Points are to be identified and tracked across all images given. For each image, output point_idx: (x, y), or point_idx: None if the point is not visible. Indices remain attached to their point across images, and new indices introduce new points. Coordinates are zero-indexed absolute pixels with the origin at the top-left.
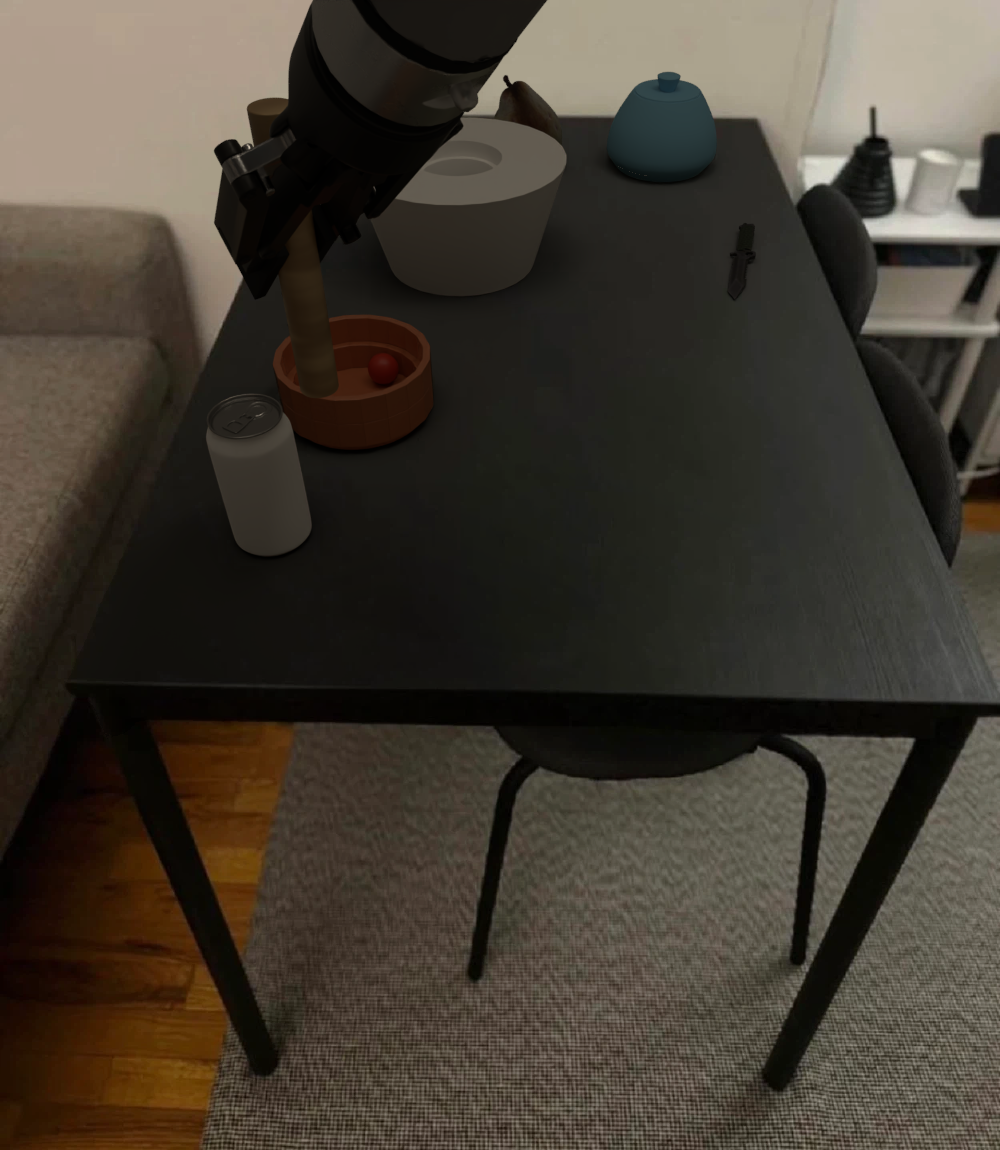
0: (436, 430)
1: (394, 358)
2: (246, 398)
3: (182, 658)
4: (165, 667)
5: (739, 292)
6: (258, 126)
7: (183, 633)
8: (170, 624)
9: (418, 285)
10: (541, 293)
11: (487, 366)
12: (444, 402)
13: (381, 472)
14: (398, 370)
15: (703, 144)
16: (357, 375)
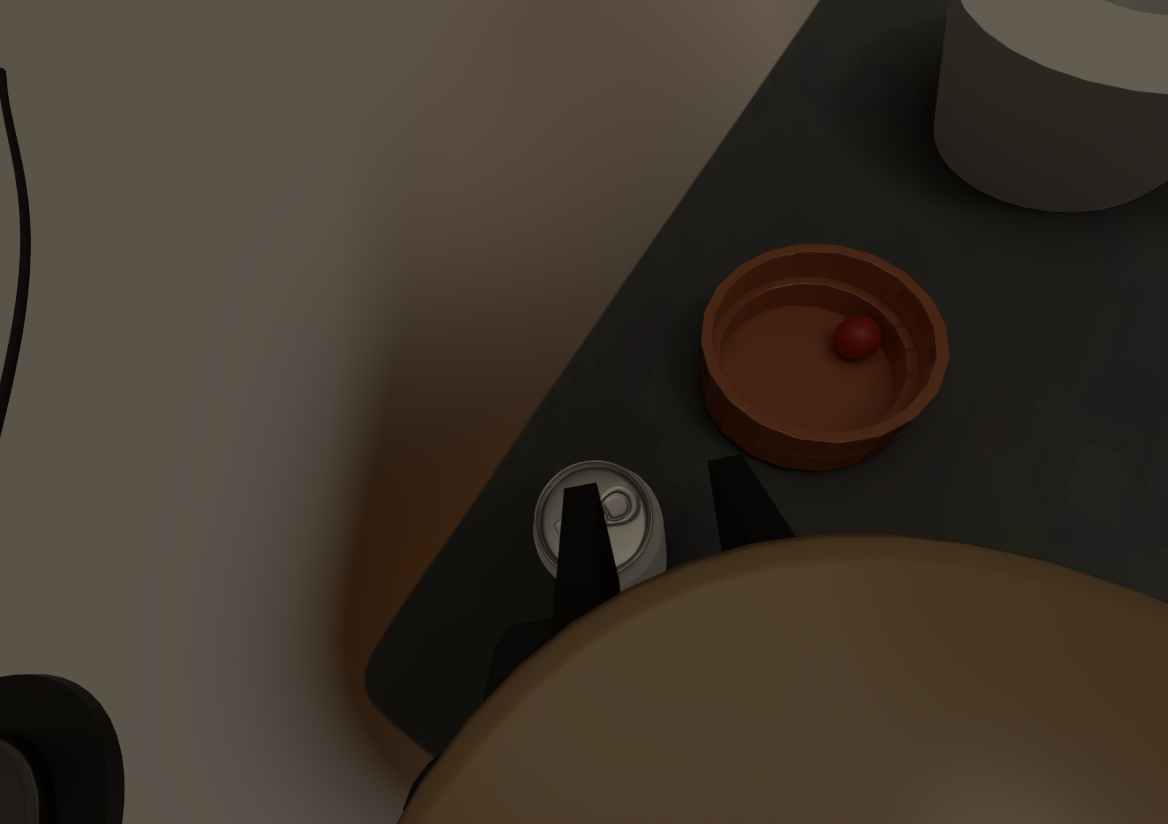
0: (892, 467)
1: (880, 331)
2: (612, 467)
3: (448, 719)
4: (427, 722)
5: None
6: None
7: (464, 676)
8: (458, 652)
9: (964, 172)
10: (1163, 236)
11: (1016, 365)
12: (923, 415)
13: (786, 515)
14: None
15: None
16: (817, 323)
